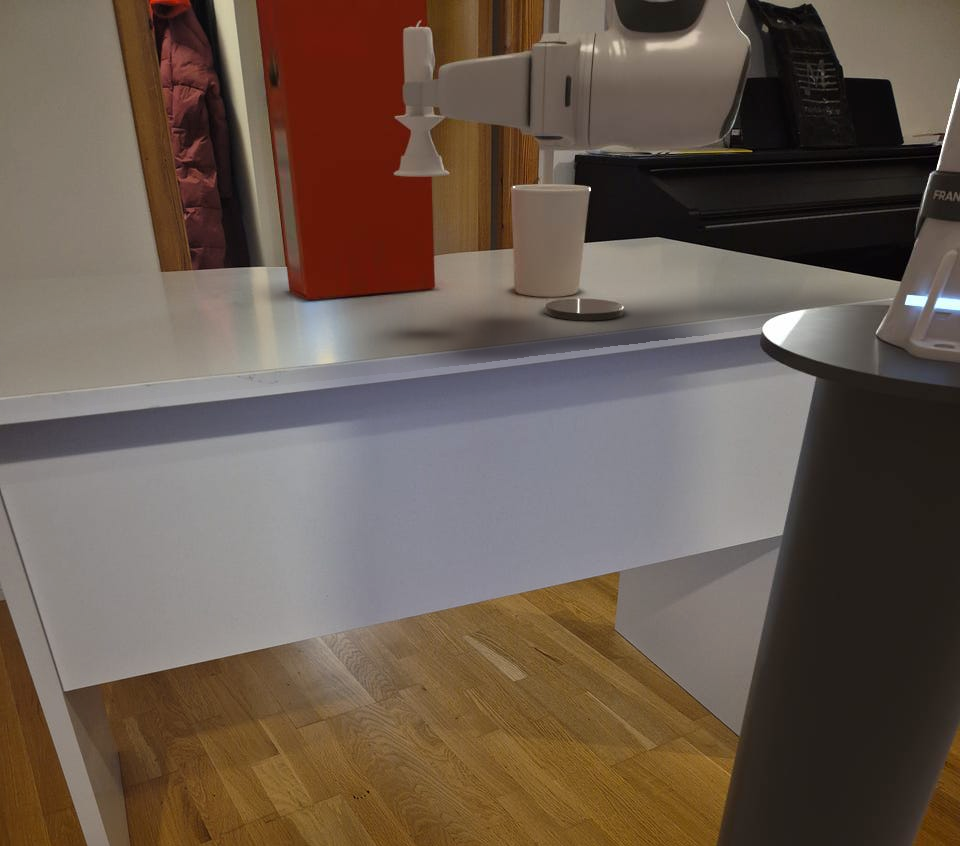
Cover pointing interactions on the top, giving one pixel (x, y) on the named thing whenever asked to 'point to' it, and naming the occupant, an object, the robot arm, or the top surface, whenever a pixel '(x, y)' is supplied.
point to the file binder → (345, 146)
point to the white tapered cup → (548, 238)
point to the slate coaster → (584, 309)
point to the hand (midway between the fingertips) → (409, 94)
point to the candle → (419, 108)
